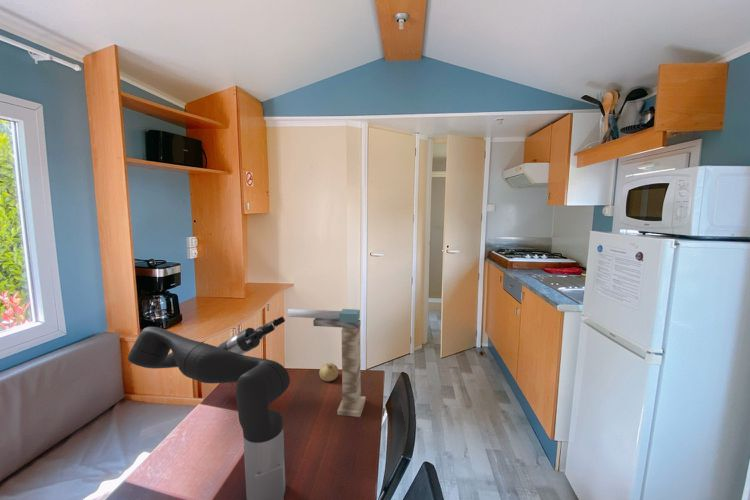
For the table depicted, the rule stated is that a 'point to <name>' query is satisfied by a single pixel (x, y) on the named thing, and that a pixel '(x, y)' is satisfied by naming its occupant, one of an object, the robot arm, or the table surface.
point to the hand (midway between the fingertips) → (278, 322)
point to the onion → (328, 372)
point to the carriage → (327, 314)
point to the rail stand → (348, 366)
